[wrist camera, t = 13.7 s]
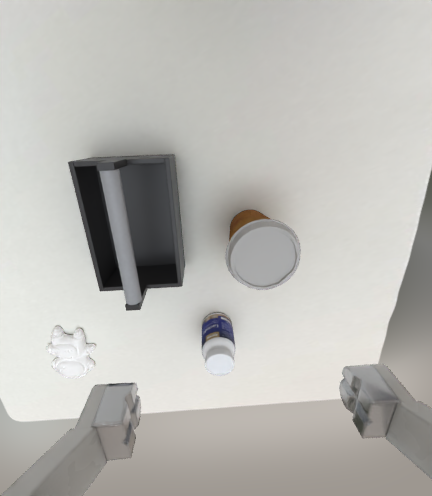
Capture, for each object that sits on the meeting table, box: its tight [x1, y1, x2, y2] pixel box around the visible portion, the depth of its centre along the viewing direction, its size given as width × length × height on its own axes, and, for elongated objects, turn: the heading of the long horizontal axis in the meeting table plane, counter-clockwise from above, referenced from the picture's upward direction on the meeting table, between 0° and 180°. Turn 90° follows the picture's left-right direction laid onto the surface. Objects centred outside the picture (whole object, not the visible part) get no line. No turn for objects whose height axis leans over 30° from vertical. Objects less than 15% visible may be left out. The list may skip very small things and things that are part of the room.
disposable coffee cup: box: [226, 210, 301, 290], centre depth 37 cm, size 10×10×12 cm
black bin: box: [68, 154, 185, 311], centre depth 36 cm, size 18×12×12 cm, turn 2°
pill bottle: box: [202, 313, 235, 376], centre depth 45 cm, size 6×6×10 cm
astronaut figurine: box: [46, 326, 96, 378], centre depth 49 cm, size 9×12×3 cm
